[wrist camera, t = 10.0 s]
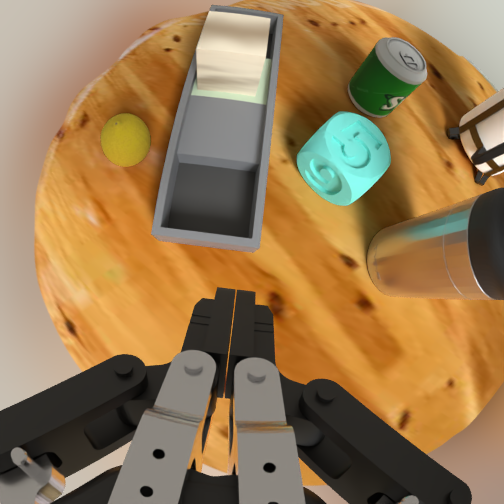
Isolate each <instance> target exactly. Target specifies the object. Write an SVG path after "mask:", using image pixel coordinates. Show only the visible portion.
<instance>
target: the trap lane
mask: <svg viewBox="0 0 504 504" xmlns="http://www.w3.org/2000/svg"><path fill="white" fill-rule="evenodd" d="M210 11H215V12H227V13H236V14H244V15H252V16H258V17H265V18H270V19H271V20H270V28H269V36H268V44H267V52H266V59H265V62H264V66H263V70H262V73H261V77H260V81H259V85H258V88H257V92H256V96H248V95H241V94H234V93H226V92H217V91H207V90H197V59H196V50H195V53H194V56H193V59H192V62H191V65H190V68H189V72H188V75H187V78H186V82H185V85H184V88H183V92H182V95H181V99H180V103H179V106H178V110H177V114H176V117H175V121H174V125H173V129H172V133H171V137H170V142H169V146H168V150H167V155H166V159H165V164H164V168H163V173H162V178H161V183H160V188H159V193H158V198H157V204H156V209H155V215H154V221H153V227H152V233H151V234H152V235H153V236H154V237H155V238H156V239H158V240H159V241H165V242H173V243H181V244H189V245H197V246H205V247H213V248H220V249H228V250H236V251H244V252H252V253H253V252H255V251H256V250H258V249H259V248H260V239H261V230H262V221H263V212H264V202H265V193H266V184H267V174H268V165H269V155H270V146H271V136H272V126H273V116H274V107H275V97H276V87H277V77H278V67H279V56H280V46H281V36H282V25H283V15H281V14H276V13H271V12H265V11H259V10H253V9H246V8H238V7H229V6H218V5H211V8H210ZM202 30H203V29H202ZM201 33H202V32H201ZM200 36H201V35H200ZM199 39H200V38H199ZM198 42H199V41H198ZM197 45H198V44H197ZM196 48H197V47H196Z"/></svg>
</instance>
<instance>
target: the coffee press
mask: <svg viewBox="0 0 504 504" xmlns="http://www.w3.org/2000/svg"><path fill="white" fill-rule="evenodd" d="M447 133H448V138H449V139H459V140H461V142H462V145H463V147H464V149H465V152H466V153H467V155H468V157H469V158H470V160H471V161H472V163H473V164H474V165H475V166H476V168H478V172H477V175H476V177H475V182H476V183H477V184H479V185H481V186H482V185H484V183H485V182H486V180H487V179H488V178H489V177H490V176H493V175H497V174H499V173H502V172H504V88H503V89H501V90H500V91H498V92H497V93H496V94H494V95H493V96H491V97H490V98H488V99H487V100H485V101H484V102H482V103H481V104H479V105H478V106H476V107H475V108H474V109H472V110H471V111H469V112H468V113H466V114H465V115H464V116H463V117H462V118H461V120H460V124H459V127H457V128H449V129H447ZM482 173H484V175H483V177H482V178H481V176H482ZM480 179H481V180H480Z"/></svg>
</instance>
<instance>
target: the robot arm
mask: <svg viewBox="0 0 504 504" xmlns="http://www.w3.org/2000/svg"><path fill="white" fill-rule="evenodd" d="M367 265H368V271H369V274H370V277H371V279H372V281H373V283H374V285H375V286H376V287H377V288H378V289H379V290H380V291H381V292H383V293H384V294H386V295H389V296H393V297H410V298H433V299H470V300H472V299H479V300H504V188H498V189H495V190H492V191H489V192H486V193H484V194H481V195H478V196H475V197H472V198H470V199H467V200H464V201H462V202H459V203H456V204H453V205H450V206H447V207H445V208H442V209H439V210H436V211H433V212H430V213H427V214H424V215H421V216H418V217H416V218H413V219H410V220H407V221H403V222H401V223H398V224H395V225H392V226H389V227H386V228H384V229H382V230H380V231H379V232H378V233H377V234H376V235H375V236H374V238H373V239H372V241H371V243H370V246H369V249H368V254H367ZM234 299H235V289H227V288H219V287H217V291H216V295H215V300H213V299H205V298H202V299H201V300H200V301H199V302H198V303H197V304H196V305H195V306H194V310H193V313H192V316H191V320H190V324H189V326H188V330H187V333H186V337H185V340H184V343H183V347H182V350H181V353H179V354H177V355H176V356H175V357H174V358H173V360H172V362H170V363H167V364H163V365H155V366H145V364H144V363H143V361H142V360H140V359H139V358H138V357H136V356H133V355H128V354H122V355H117V356H114V357H112V358H110V359H108V360H106V361H104V362H102V363H100V364H98V365H96V366H94V367H92V368H90V369H88V370H86V371H84V372H82V373H80V374H78V375H76V376H74V377H71V378H69V379H67V380H65V381H63V382H61V383H59V384H57V385H55V386H53V387H51V388H49V389H47V390H44V391H42V392H40V393H38V394H36V395H34V396H32V397H30V398H27V399H25V400H23V401H21V402H19V403H17V404H15V405H12V406H10V407H8V408H6V409H3V410H2V411H0V503H1V504H326V503H325V502H324V501H323V500H322V499H321V498H320V497H319V496H317V495H316V494H315V493H314V492H312V491H310V490H309V489H307V488H305V487H303V484H302V478H301V471H300V465H299V458H300V459H301V460H302V461H303V462H304V463H305V464H306V465H307V466H308V467H309V468H310V469H311V470H313V471H314V472H315V473H316V474H317V475H318V476H319V477H320V478H321V479H322V480H323V481H324V482H325V483H326V484H328V485H329V486H330V487H331V488H332V489H333V490H334V491H335V492H336V493H338V494H339V495H340V496H341V497H342V498H343V499H344V500H346V501H347V502H348V503H349V504H471V500H472V495H471V491H470V489H469V487H468V486H467V484H466V483H464V482H463V481H462V480H460V479H459V478H457V477H456V476H455V475H453V474H452V473H450V472H449V471H448V470H446V469H445V468H444V467H442V466H441V465H440V464H438V463H437V462H436V461H434V460H433V459H431V458H430V457H429V456H428V455H426V454H425V453H424V452H422V451H421V450H420V449H418V448H417V447H416V446H414V445H413V444H412V443H411V442H409V441H408V440H407V439H405V438H404V437H403V436H402V435H400V434H399V433H398V432H397V431H395V430H394V429H393V428H391V427H390V426H389V425H388V424H386V423H385V422H384V421H383V420H381V419H380V418H379V417H378V416H376V415H375V414H374V413H373V412H371V411H370V410H369V409H368V408H367V407H365V406H364V405H363V404H362V403H360V402H359V401H358V400H357V399H356V398H354V397H353V396H352V395H351V394H350V393H348V392H347V391H346V390H345V389H344V388H342V387H341V386H340V385H339V384H337V383H336V382H334V381H331V380H328V379H315V380H312V381H310V382H309V383H308V384H307V385H304V384H301V383H298V382H294V381H292V380H289V379H288V378H286V377H284V376H283V375H282V374H281V373H280V372H279V371H278V369H277V367H276V364H275V348H274V326H273V314H272V312H271V311H270V309H269V308H268V306H264V305H255V292H253V291H244V290H237V295H236V303H235V312H234V320H233V328H232V337H231V345H230V353H229V363H228V372H227V381H226V391H225V398H229V399H230V407H229V416H228V475H226V476H214V477H213V476H209V475H206V474H203V473H201V471H202V463H203V457H204V453H205V449H206V444H207V440H208V436H209V431H210V427H211V423H212V419H213V413H214V411H215V408H216V401H217V397H219V398H223V392H224V384H225V375H226V367H227V359H228V351H229V343H230V335H231V326H232V317H233V308H234ZM131 440H132V442H131V445H130V447H129V450H128V452H127V455H126V457H125V460H124V462H123V465H120V466H117V467H114V468H111V469H109V470H107V471H105V472H104V473H102V474H100V475H99V476H97V477H95V478H94V479H92V480H90V481H89V482H87V483H85V484H84V485H82V486H80V487H79V488H77V489H75V490H74V491H72V492H70V493H68V494H66V495H65V496H63V497H61V498H59V499H57V500H55V499H56V498H58V497H59V496H60V495H62V493H63V491H64V489H65V478H66V477H68V476H70V475H72V474H74V473H76V472H77V471H79V470H81V469H83V468H85V467H87V466H88V465H90V464H92V463H94V462H96V461H98V460H99V459H101V458H103V457H104V456H106V455H108V454H110V453H111V452H113V451H115V450H117V449H118V448H120V447H122V446H123V445H125V444H127V443H128V442H130V441H131ZM298 457H299V458H298ZM54 500H55V501H54ZM53 501H54V502H53Z"/></svg>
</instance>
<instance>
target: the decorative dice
mask: <svg viewBox="0 0 504 504" xmlns="http://www.w3.org/2000/svg"><path fill="white" fill-rule="evenodd" d="M296 157H297V166H298V169H299V171H300V174H301V175H302V177H303V179H304V180H305V181H306V183H307V184H308V185H309V186H310V187H311V188H312V189H313V190H314V191H315V192H316V193H317V194H318V195H320V196H321V197H322V198H324V199H325V200H327V201H329V202H331V203H333V204H336V205H344V206H347V205H350V204H351V203H353V202H354V201H356V200H357V199H358V198H359V197H361V196H362V195H363V194H364V193H365V192H366V191H367V190H368V189H370V188H371V187H372V186H373V185H374V184H375V183H376V182H377V181H378V179H379V178H380V177H381V176H382V175H383V174H384V173H385V171H386V170H387V169H388V167H389V166H390V164H391V155H390V149H389V146H388V143H387V141H386V139H385V137H384V135H383V134H382V132H381V131H380V130H379V128H378V127H377V126H376V125H375V124H374V123H372V122H371V121H370V120H368V119H367V118H365V117H363V116H361V115H359V114H356V113H352V112H345V111H339V112H338V113H336V114H335V115H334V116H332V117H331V118H330V119H329V120H328V121H327V122H326V123H325V124H324V125H323V126H321V127H320V128H319V129H318V131H317V132H316V133H315V134H314V135H313V136H312V137H311V138H310V139H309V140H308V141H307V142H306V144H305V145H304V146H303V147H302V148H301V150H300V151H299V152H298V154H297V156H296Z"/></svg>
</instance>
